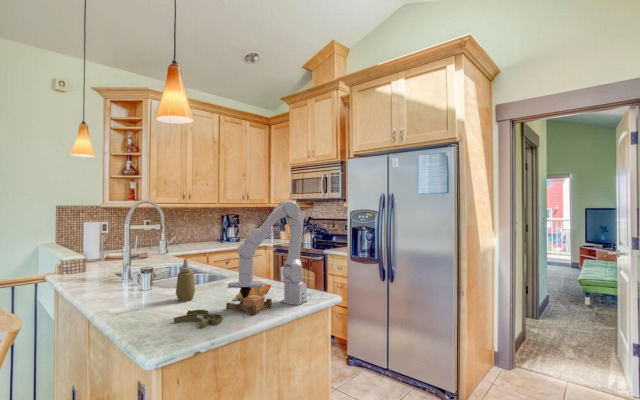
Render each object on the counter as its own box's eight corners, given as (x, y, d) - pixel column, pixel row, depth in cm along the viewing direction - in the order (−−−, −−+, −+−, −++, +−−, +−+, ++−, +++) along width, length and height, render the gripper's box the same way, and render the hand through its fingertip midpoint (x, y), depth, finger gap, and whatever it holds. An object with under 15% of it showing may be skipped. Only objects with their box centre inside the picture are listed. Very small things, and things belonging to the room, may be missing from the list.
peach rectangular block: (264, 307, 137) (264, 296, 137) (254, 311, 132) (254, 300, 132) (252, 305, 140) (252, 294, 140) (242, 309, 135) (242, 298, 135)
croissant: (241, 309, 147) (247, 294, 145) (227, 295, 152) (232, 281, 150) (273, 297, 165) (279, 283, 163) (260, 285, 170) (265, 272, 168)
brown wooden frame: (271, 307, 139) (271, 299, 139) (253, 315, 129) (253, 306, 129) (242, 302, 146) (242, 294, 146) (223, 309, 136) (223, 300, 136)
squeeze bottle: (188, 303, 145) (188, 261, 145) (171, 302, 146) (171, 260, 146) (198, 298, 153) (198, 258, 153) (182, 297, 154) (182, 257, 154)
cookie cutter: (169, 323, 122) (169, 317, 122) (194, 313, 133) (194, 308, 133) (206, 331, 115) (206, 325, 115) (230, 319, 125) (230, 314, 125)
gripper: (265, 270, 142) (265, 302, 142) (231, 270, 143) (231, 302, 143) (261, 274, 135) (261, 308, 135) (226, 273, 136) (226, 307, 136)
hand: (245, 305), depth 138 cm, fingers closed, pressing on peach rectangular block
